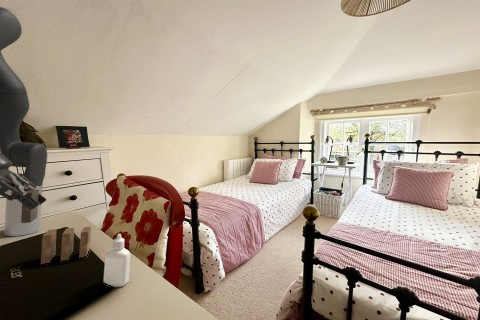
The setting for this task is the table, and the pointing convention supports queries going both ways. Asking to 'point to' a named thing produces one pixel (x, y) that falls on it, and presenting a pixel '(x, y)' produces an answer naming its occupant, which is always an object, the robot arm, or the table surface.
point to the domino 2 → (67, 244)
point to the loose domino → (27, 213)
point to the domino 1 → (48, 246)
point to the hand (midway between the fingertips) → (39, 204)
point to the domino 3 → (85, 241)
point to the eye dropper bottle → (117, 264)
